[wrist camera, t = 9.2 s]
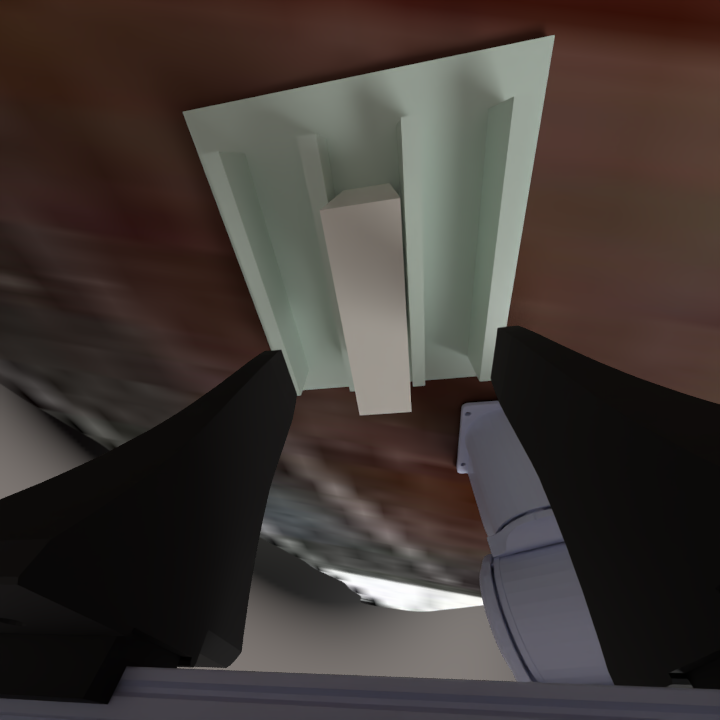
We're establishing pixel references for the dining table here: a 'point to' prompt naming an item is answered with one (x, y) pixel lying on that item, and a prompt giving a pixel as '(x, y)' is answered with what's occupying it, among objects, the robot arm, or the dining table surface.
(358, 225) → the tile plate
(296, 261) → the dish rack
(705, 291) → the dining table surface
